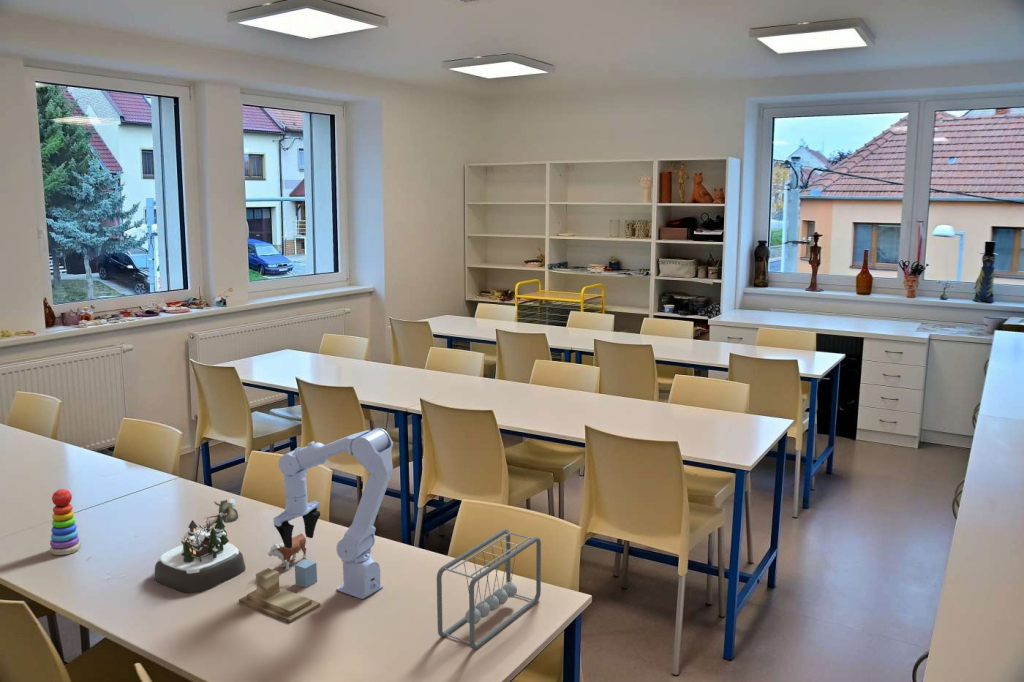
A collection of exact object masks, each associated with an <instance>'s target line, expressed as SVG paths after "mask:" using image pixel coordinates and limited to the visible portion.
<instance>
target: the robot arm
mask: <svg viewBox="0 0 1024 682" xmlns="http://www.w3.org/2000/svg"><path fill="white" fill-rule="evenodd" d="M393 447H394V442H393V439H392V438H391V437H390V434H389V433H388V432H387V431H386V430H385V429H383V428H381V427H376V428H374V429H371V430H370V429H367V430H363V431H360V432H356V433H353V434H350V435H347V436H345V437H343V438H340V439H337V440H334V441H333V442H330V443H327V444H323V442H315V441H311V442H308V443H307V445H306V446H304V447H300V446H299V447H296V448H294V450H291V451H289V452H287V453H285V454H283V455H281V457H279V459H278V463H277V464H278V468H279V470H280V472H281V473H282V474H283V484H284V499H285V508H284V511H282V512H281V513H280V514H278V515H277V516H275V517H273V519H272V520H273V526H274V528H275V529H276V530H277V532H278V534H279V536H280V538H281V540H282V543H284V546H285V547H287V548H292V538H293V531H294V527H295V526H294V525H293V524H291V523H290V521H292V520H294V519H297V518H299V517H302V519H303V523H304V533H305V538H309V539H313V538H314V533H315V529H316V525H317V523H318V520H319V518H320V516H321V512H320V511H319V510H320V508H321V505H320V502H319V501H316V500H314V501H312V502H308V492H307V489H308V488H307V474H308V469H311V468H313V467H317V466H319V465H323V464H325V463H326V462H327V461H328V459H329V457H331V456H336V455H339V454H342V453H345V452H347V453H348V454H349V455H348V456H350V457H351V456H353V457H354V458H355V460H357V462H358V463H359V464H360V465H361V466H362V467H363V468H364V469H365V470H366V472H368V473H369V475H368V478H367V481H366V483H365V486H364V490H363V492H362V495H361V497H360V500H359V503H358V506H357V509H356V512H355V515H354V516H353V520H352V522H351V525H349V527H348V529H347V530H346V531H345V532H344V534H343V537H342V539H340V540H339V541H338V543H337V544H336V553H337V556H338V557H339V558H340V559H341V562H342V572H343V573H342V575H343V577H342V578H343V584H342V585H340V586H338V587H337V588H336V591H339V592H341V593H344V594H347V595H350V596H353V597H354V598H355V597H356V598H358V599H361V600H363V599H366V598H367V597H369V596H371V595H372V594H374V593H376V592H377V591H379V590H381V589H382V588H383V587H384V586H383V585H382V584H381V567H380V564H379V562H377V561H376V560H374V559H373V558H372V556H371V553H372V548H373V547H374V545H375V543H376V538H375V532H376V530H377V528H376V527H375V526H374V524H375V521H376V518H377V516H378V513H379V510H380V508H381V505H382V502H383V500H384V497H385V493H386V491H387V489H388V486H389V483H390V480H391V478H392V475H393V472H394V471H393V470H394V466H393V457H392V450H393Z"/></svg>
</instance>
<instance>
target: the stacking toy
mask: <svg viewBox="0 0 1024 682" xmlns="http://www.w3.org/2000/svg"><path fill="white" fill-rule="evenodd" d="M72 499H73V495H72V492H71V491H70V490H68V489H66V488H62V489H58V490H56V491H55V492H53V494H52V496H51V500H52V503H53V505H55V506H53V508H52V512H53V514H52V516H51V517H52V521H51V524H52V527H51V536H50V541H49V544H50V548H49V552H50V554H52V555H55V556H65V555H70V554H73V553H75V552H78V551H79V550H80V548H81V545H82V544H81V542H80V536H78V535H79V531H78V529H77V524H76V517H74V515H75V513H74V512H73V505H72V504H71V501H72Z"/></svg>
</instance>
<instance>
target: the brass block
mask: <svg viewBox="0 0 1024 682" xmlns="http://www.w3.org/2000/svg"><path fill="white" fill-rule="evenodd" d="M279 575H280V573H279V571H277V570H275V569H272V568H270V567H267V568H264V569H263V570H261V571H259V572H257V573H255V580H256V582H255V587H256V590H257V594H258V595H261V596H264V597H266V598H269V597H271V596H272V595H274V594H276V593H278V592H280V588H281V587H280V576H279Z"/></svg>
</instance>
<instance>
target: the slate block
mask: <svg viewBox="0 0 1024 682" xmlns="http://www.w3.org/2000/svg"><path fill="white" fill-rule="evenodd" d="M317 569H318V567H317V562H315V561H312V560H309V559H302V560H301V561H299V562H298V563H295V564H294V577H295V585H298V586H300V587H303V588H308V587H310V586H312V585H314V584H315V583H317V582H318V572H317V571H318V570H317Z"/></svg>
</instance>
